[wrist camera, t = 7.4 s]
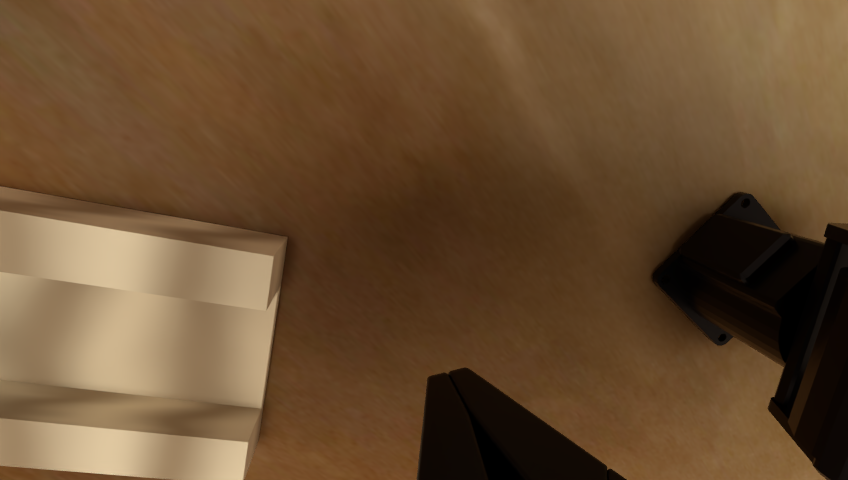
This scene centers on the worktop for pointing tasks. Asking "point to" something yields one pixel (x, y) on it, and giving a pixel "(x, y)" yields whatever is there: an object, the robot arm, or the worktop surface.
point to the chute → (132, 339)
